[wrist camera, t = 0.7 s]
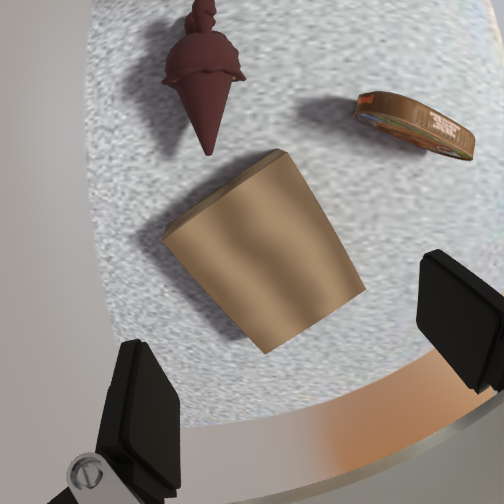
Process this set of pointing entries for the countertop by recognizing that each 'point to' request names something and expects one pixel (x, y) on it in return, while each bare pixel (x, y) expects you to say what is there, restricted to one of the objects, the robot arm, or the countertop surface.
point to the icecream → (203, 72)
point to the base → (266, 252)
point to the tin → (415, 124)
